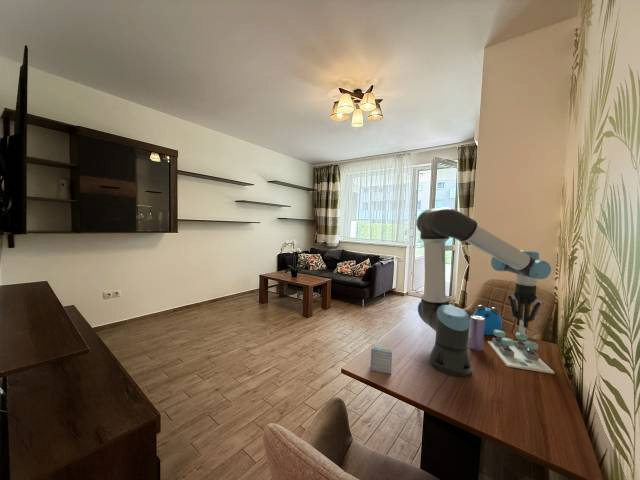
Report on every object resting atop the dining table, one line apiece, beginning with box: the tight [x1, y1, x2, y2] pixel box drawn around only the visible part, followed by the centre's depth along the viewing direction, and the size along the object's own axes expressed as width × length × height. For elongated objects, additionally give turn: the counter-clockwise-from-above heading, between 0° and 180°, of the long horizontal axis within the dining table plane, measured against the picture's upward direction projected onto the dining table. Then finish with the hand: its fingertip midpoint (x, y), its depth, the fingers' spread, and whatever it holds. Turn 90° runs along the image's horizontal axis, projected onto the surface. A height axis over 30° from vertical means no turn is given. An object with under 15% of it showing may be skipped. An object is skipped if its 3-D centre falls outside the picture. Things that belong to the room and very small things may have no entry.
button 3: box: [494, 330, 506, 340], centre depth 121 cm, size 4×4×4 cm
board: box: [487, 337, 555, 375], centre depth 112 cm, size 16×22×3 cm
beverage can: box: [467, 314, 485, 352], centre depth 118 cm, size 6×6×15 cm
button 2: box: [524, 340, 539, 353], centre depth 110 cm, size 4×4×4 cm
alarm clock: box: [473, 304, 503, 336], centre depth 135 cm, size 13×6×15 cm, turn 53°
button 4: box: [514, 331, 528, 343], centre depth 118 cm, size 4×4×4 cm
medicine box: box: [369, 344, 393, 375], centre depth 99 cm, size 8×4×9 cm, turn 74°
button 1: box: [501, 337, 515, 349], centre depth 112 cm, size 4×4×4 cm
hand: (521, 333), depth 118 cm, fingers closed
